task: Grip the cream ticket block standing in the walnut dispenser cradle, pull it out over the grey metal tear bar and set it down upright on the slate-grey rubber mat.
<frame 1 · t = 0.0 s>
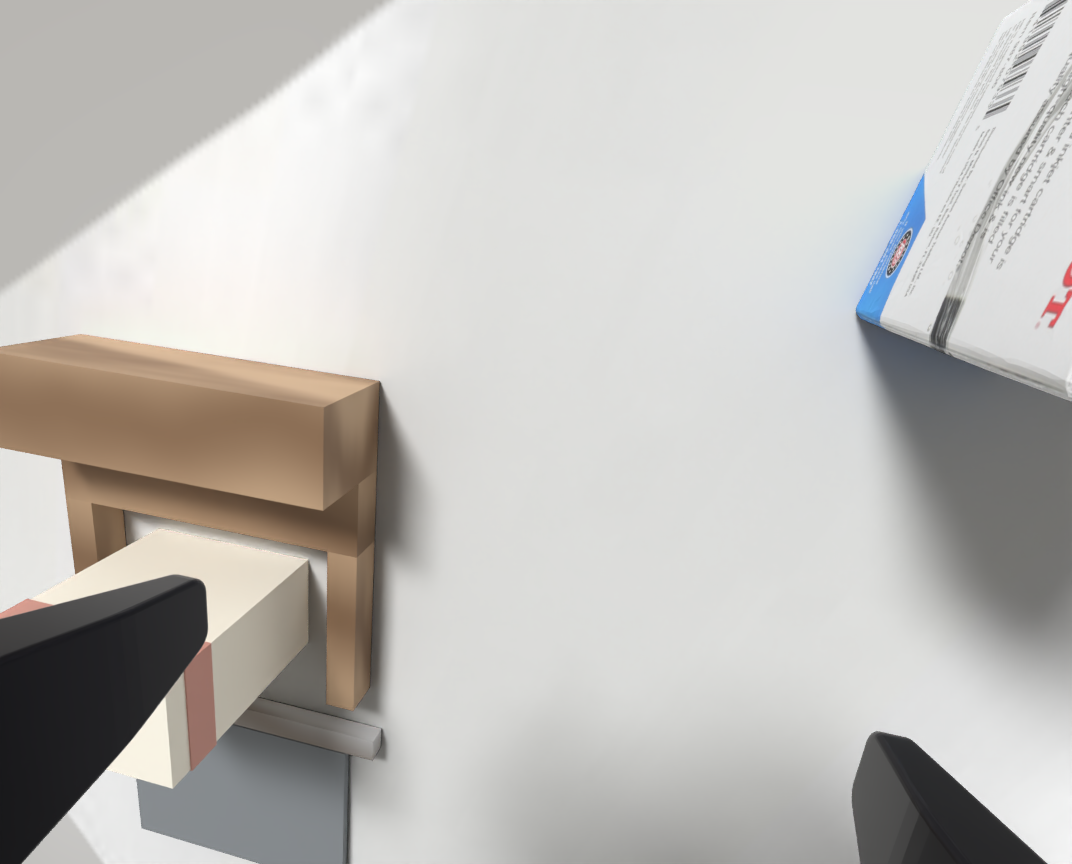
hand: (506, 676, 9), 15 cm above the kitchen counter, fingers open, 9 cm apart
ink box: (1000, 202, 19), on the kitchen counter
cradle: (233, 585, 28), on the kitchen counter
mat: (241, 787, 31), on the kitchen counter
ticket block: (234, 585, 28), resting in cradle
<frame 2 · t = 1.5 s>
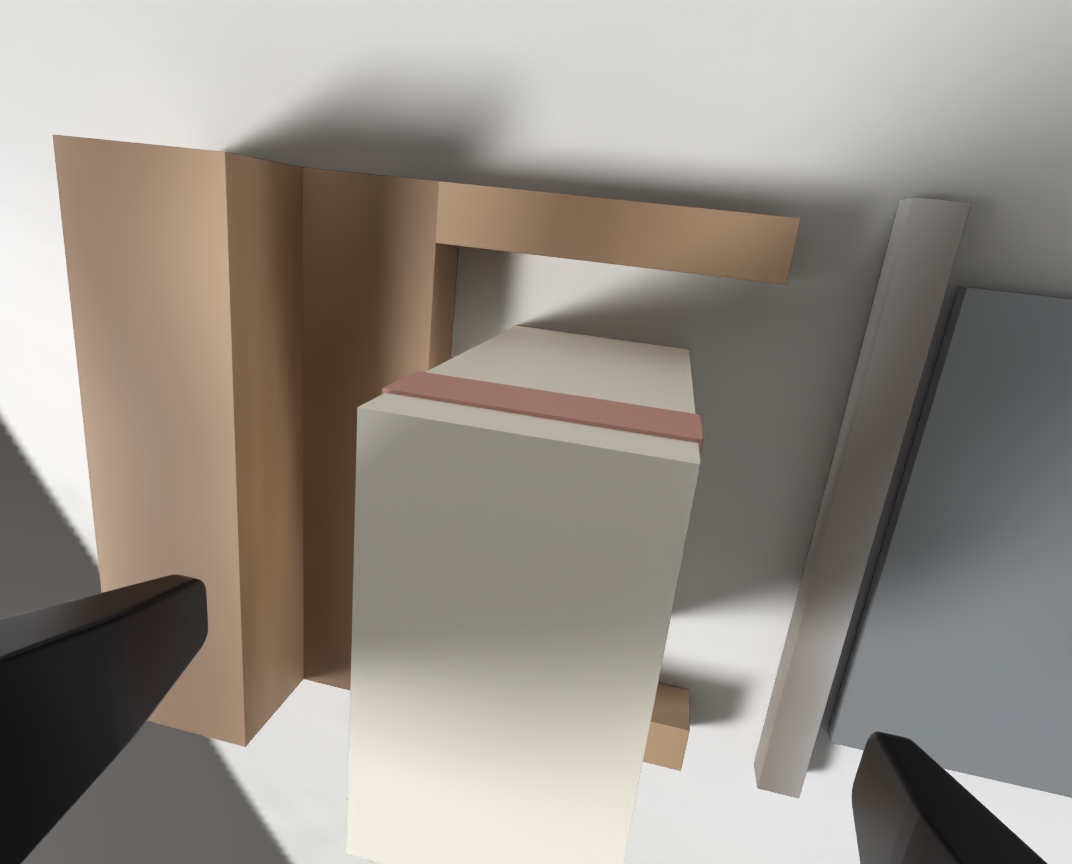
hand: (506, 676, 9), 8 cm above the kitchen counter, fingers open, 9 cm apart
cradle: (580, 480, 16), on the kitchen counter
ticket block: (581, 479, 16), resting in cradle
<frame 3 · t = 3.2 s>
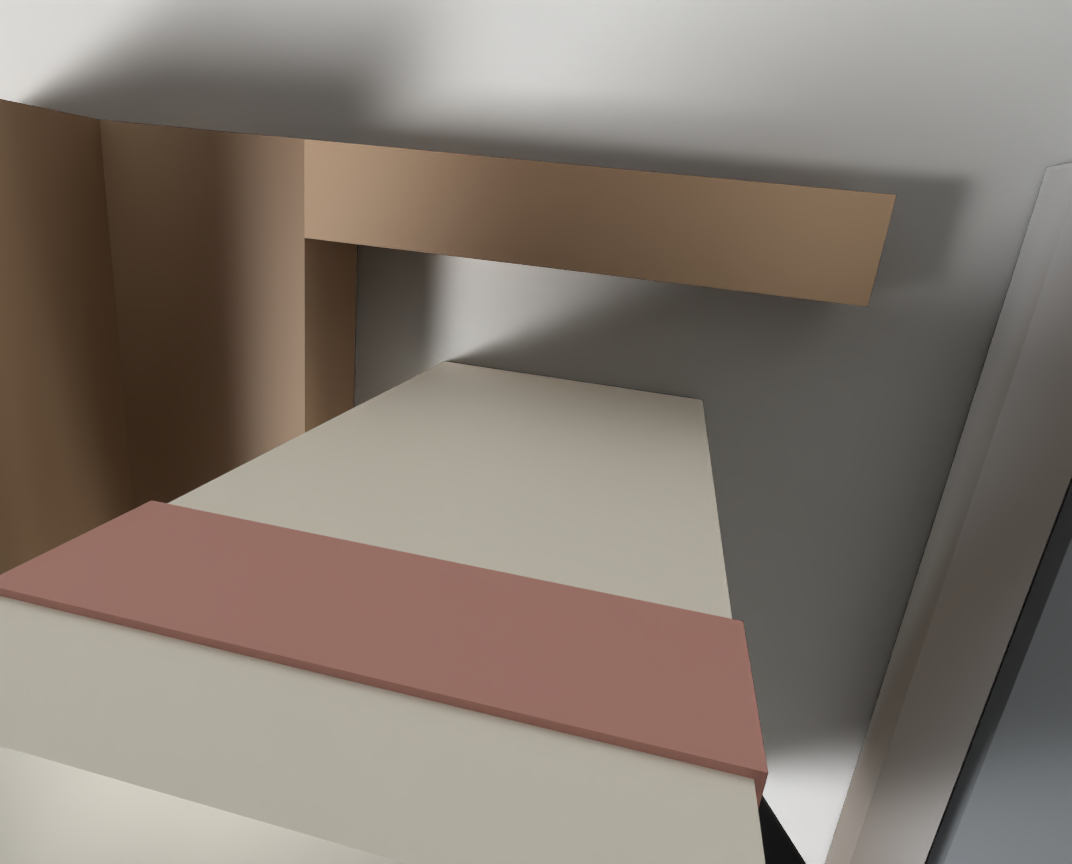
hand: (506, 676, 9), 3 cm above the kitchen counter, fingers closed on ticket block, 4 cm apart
cradle: (543, 582, 11), on the kitchen counter
ticket block: (544, 582, 11), resting in cradle, touching gripper
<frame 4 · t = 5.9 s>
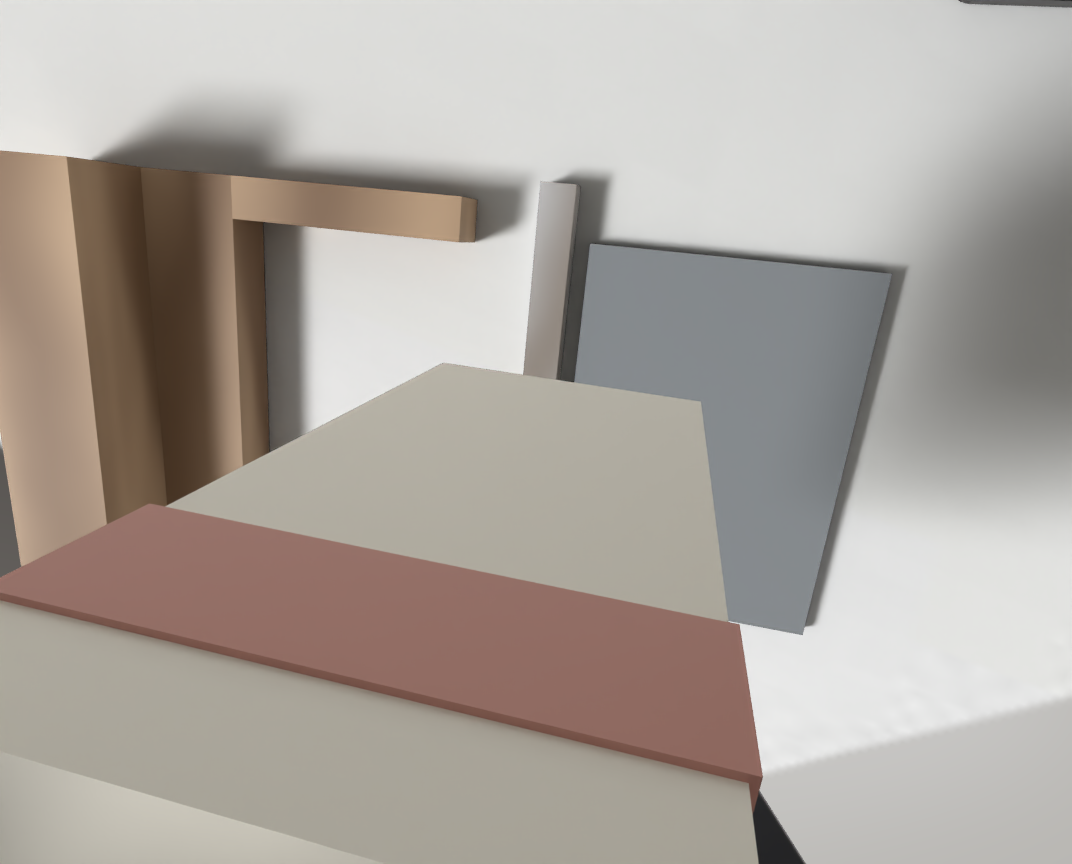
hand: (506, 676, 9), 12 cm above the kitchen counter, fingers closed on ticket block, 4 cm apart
cradle: (363, 394, 22), on the kitchen counter
mat: (701, 444, 20), on the kitchen counter
ticket block: (542, 583, 11), point 10 cm above the kitchen counter, touching gripper
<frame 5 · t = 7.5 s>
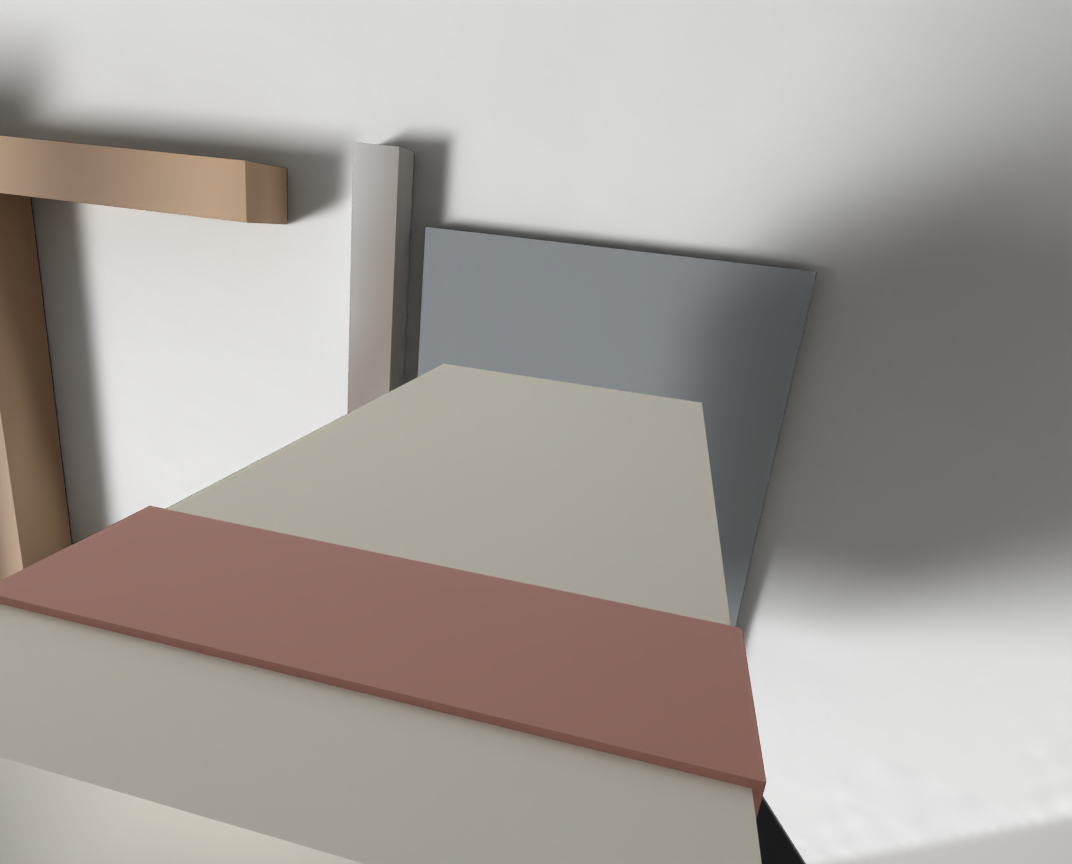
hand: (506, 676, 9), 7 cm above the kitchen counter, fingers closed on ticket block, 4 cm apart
cradle: (167, 416, 17), on the kitchen counter
mat: (579, 490, 15), on the kitchen counter
ticket block: (543, 584, 11), point 5 cm above the kitchen counter, touching gripper
when the fingers open (4 cm above the kitchen counter, at t = 8.8 s): ticket block drops 1 cm, resting on mat.
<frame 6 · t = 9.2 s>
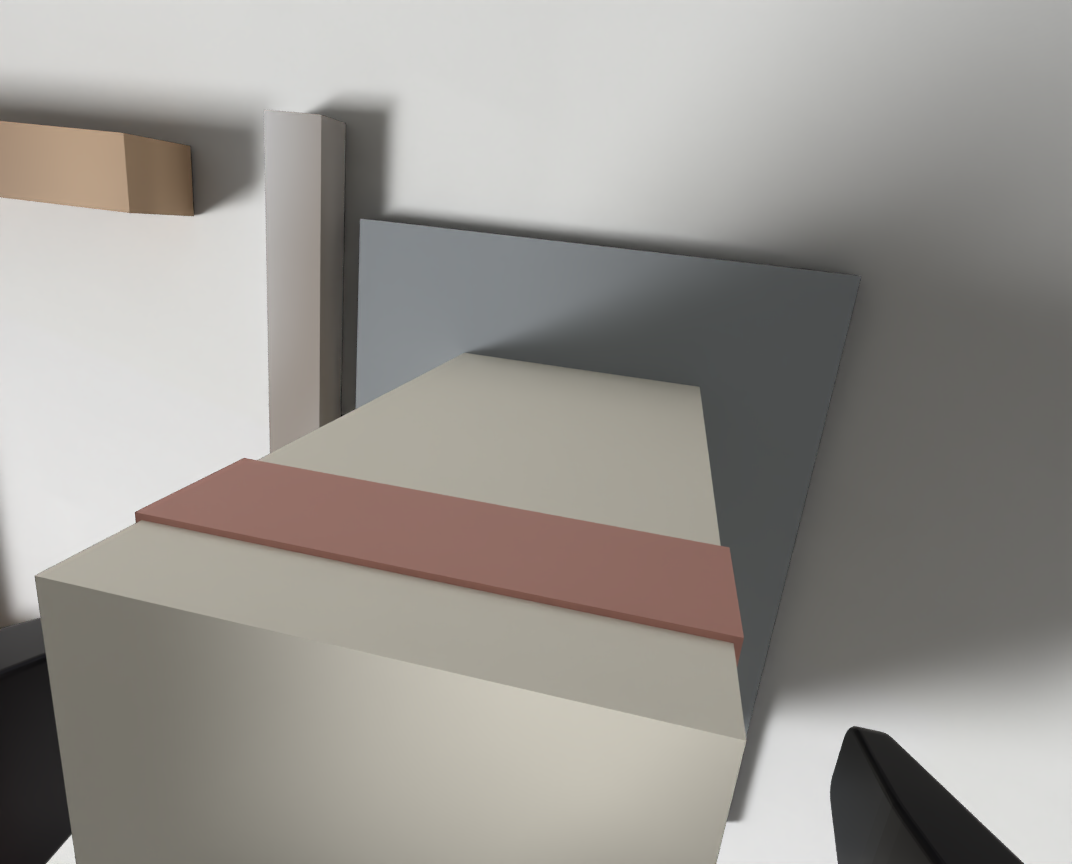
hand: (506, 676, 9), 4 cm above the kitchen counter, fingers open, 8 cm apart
cradle: (63, 449, 14), on the kitchen counter
mat: (558, 545, 12), on the kitchen counter
ticket block: (555, 555, 12), resting on mat
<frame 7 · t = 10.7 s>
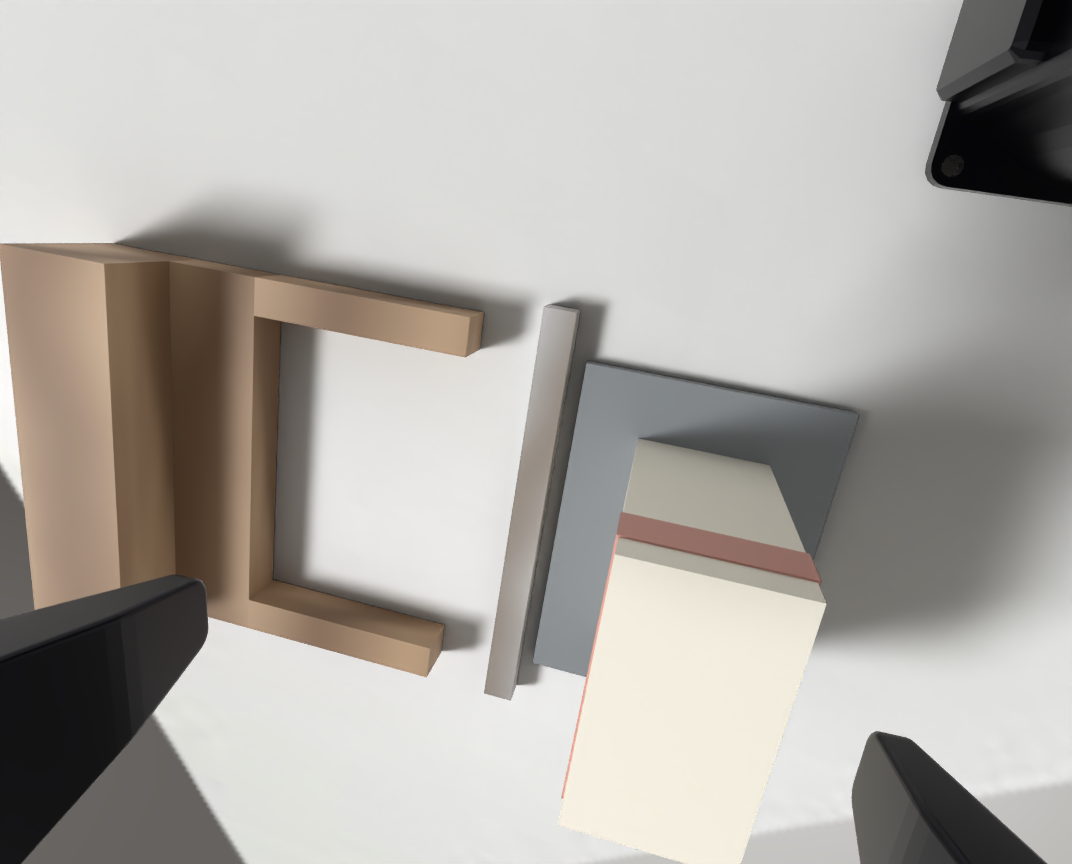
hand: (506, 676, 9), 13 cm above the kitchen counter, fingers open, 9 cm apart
cradle: (366, 475, 23), on the kitchen counter
mat: (678, 547, 21), on the kitchen counter
ticket block: (678, 552, 21), resting on mat
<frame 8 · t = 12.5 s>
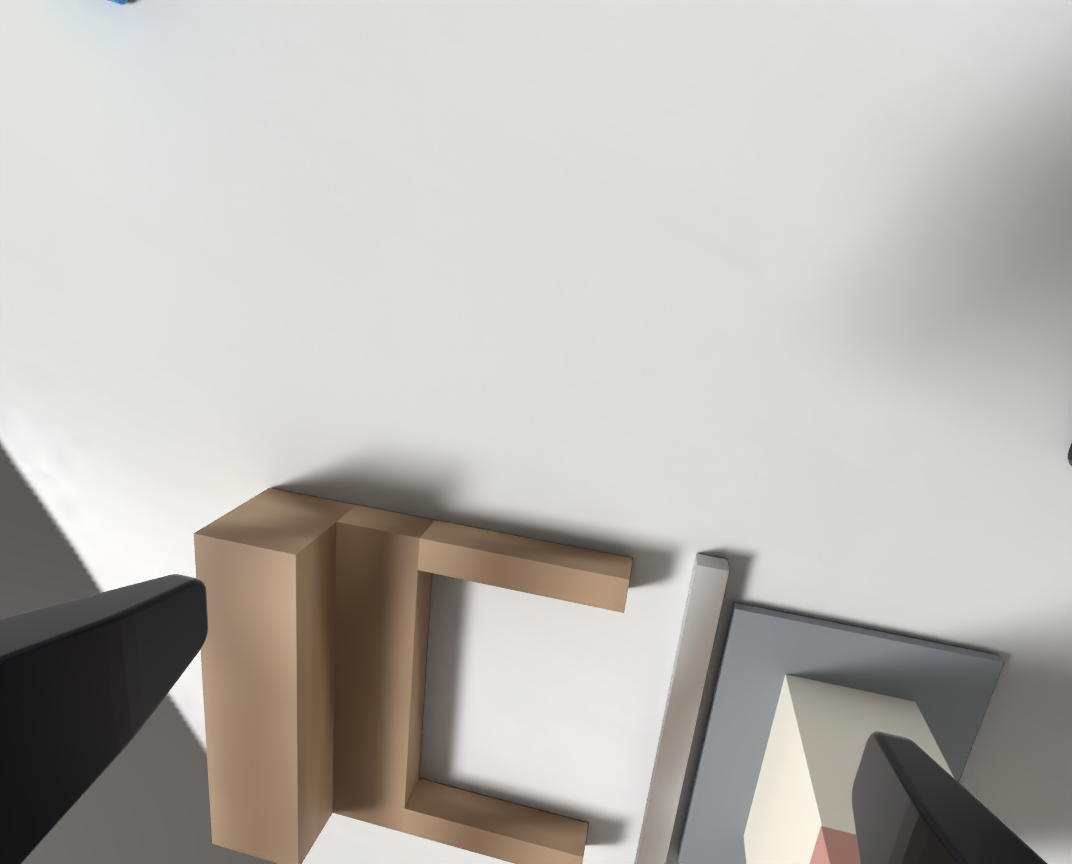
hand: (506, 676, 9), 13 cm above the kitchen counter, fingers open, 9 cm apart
cradle: (514, 692, 24), on the kitchen counter
mat: (821, 764, 23), on the kitchen counter
ticket block: (824, 773, 22), resting on mat
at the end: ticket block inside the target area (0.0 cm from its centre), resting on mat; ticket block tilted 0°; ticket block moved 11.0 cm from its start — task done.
